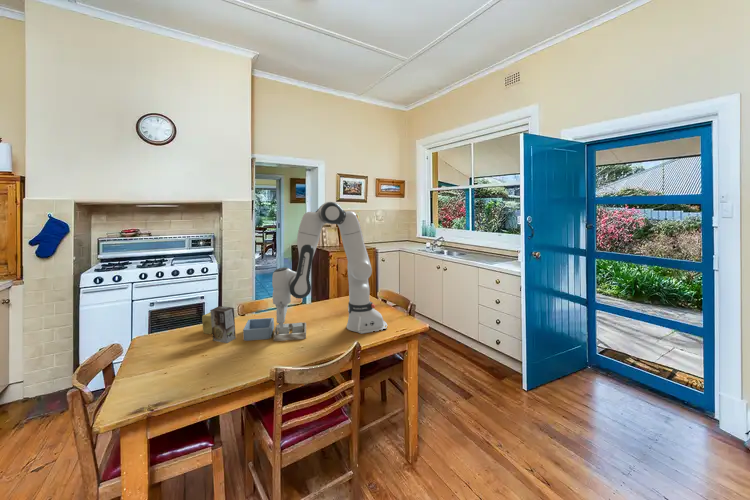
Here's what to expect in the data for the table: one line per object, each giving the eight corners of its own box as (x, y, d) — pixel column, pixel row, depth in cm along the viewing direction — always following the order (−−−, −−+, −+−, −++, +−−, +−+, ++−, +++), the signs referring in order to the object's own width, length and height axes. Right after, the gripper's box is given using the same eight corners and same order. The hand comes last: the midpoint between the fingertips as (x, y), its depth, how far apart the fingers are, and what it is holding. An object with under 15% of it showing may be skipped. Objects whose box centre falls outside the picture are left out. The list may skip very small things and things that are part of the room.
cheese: (220, 335, 165) (218, 317, 164) (201, 333, 167) (200, 315, 166) (232, 327, 175) (231, 310, 174) (215, 326, 177) (214, 308, 176)
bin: (274, 327, 176) (273, 317, 175) (270, 338, 161) (270, 328, 160) (249, 329, 173) (248, 319, 172) (243, 340, 159) (242, 330, 158)
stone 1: (289, 332, 169) (288, 323, 168) (288, 336, 164) (288, 327, 164) (279, 333, 168) (278, 324, 168) (278, 337, 163) (278, 327, 163)
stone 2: (302, 331, 171) (301, 322, 170) (303, 334, 166) (302, 325, 165) (292, 332, 169) (292, 323, 168) (293, 336, 165) (292, 327, 164)
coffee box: (236, 338, 162) (234, 307, 159) (226, 343, 156) (224, 311, 153) (222, 335, 165) (220, 305, 162) (212, 340, 159) (209, 309, 156)
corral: (306, 327, 176) (306, 322, 175) (306, 338, 161) (305, 333, 161) (276, 329, 173) (276, 324, 172) (273, 341, 158) (273, 335, 158)
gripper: (286, 305, 154) (287, 332, 156) (289, 293, 174) (289, 318, 176) (273, 305, 153) (273, 333, 155) (277, 293, 173) (277, 318, 175)
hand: (282, 325), depth 165 cm, fingers open, 8 cm apart
